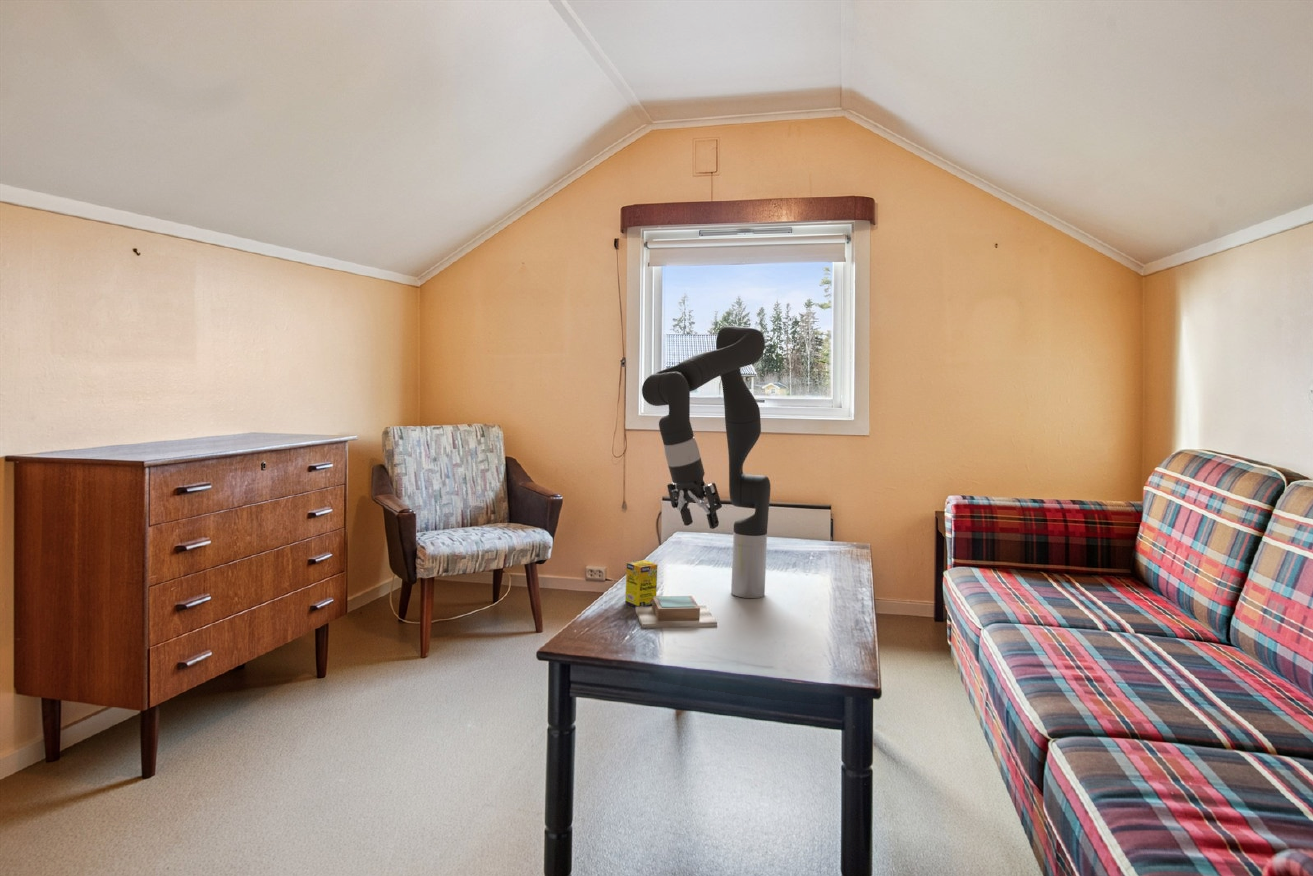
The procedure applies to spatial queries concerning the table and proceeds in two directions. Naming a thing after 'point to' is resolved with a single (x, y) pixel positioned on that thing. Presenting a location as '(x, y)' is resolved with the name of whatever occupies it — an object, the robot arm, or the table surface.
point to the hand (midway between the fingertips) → (701, 525)
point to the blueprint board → (654, 623)
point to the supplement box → (641, 583)
